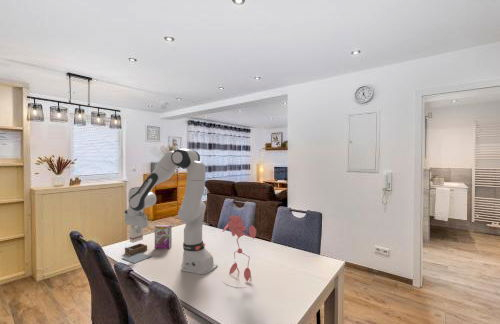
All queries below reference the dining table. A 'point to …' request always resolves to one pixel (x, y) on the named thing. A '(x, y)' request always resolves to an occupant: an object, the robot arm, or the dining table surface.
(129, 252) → the wooden card holder
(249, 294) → the dining table surface
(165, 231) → the candy bar box
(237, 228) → the red stick figure
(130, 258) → the mat
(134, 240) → the white upright block
